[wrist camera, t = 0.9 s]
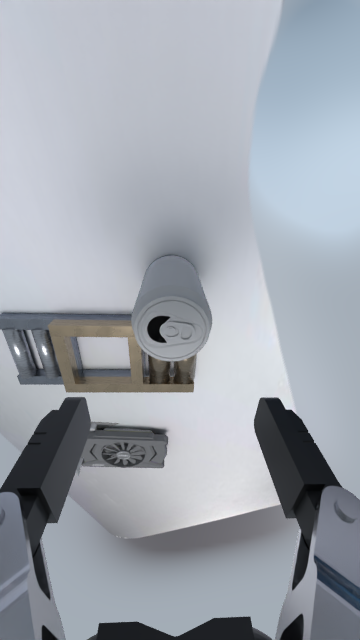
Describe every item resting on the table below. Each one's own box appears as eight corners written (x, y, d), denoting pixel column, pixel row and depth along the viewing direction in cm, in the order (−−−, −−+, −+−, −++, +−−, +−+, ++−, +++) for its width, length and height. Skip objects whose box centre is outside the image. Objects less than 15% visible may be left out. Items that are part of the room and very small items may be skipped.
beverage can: (147, 250, 25) (129, 286, 15) (202, 257, 26) (224, 297, 15) (143, 301, 28) (126, 362, 18) (193, 307, 29) (205, 369, 18)
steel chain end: (2, 313, 28) (-9, 320, 27) (142, 315, 29) (140, 322, 27) (26, 377, 33) (18, 387, 32) (145, 377, 34) (144, 387, 32)
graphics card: (71, 479, 41) (62, 439, 35) (78, 458, 44) (71, 418, 39) (163, 480, 43) (169, 442, 37) (163, 460, 46) (169, 422, 40)
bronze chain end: (59, 313, 29) (47, 325, 26) (197, 315, 30) (200, 327, 27) (74, 377, 34) (66, 392, 31) (192, 377, 35) (194, 392, 32)
